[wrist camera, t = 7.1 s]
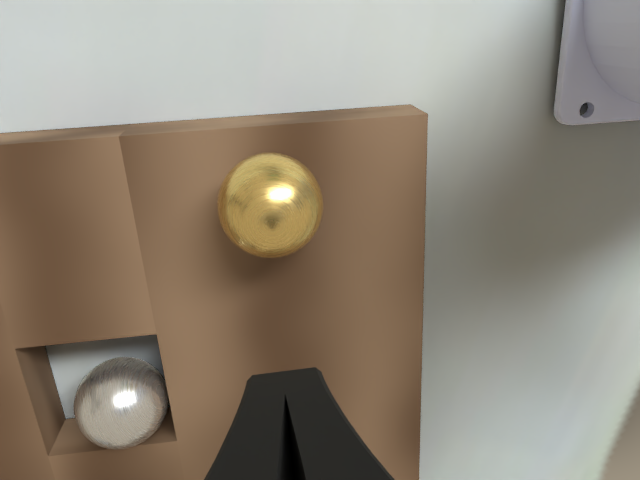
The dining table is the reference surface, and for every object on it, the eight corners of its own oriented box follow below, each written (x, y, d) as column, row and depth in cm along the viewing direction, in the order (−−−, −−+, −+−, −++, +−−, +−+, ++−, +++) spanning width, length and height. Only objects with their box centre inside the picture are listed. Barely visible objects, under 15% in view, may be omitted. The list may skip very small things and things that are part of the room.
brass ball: (314, 138, 17) (326, 163, 14) (319, 231, 18) (331, 270, 15) (214, 146, 16) (206, 172, 14) (226, 239, 17) (221, 280, 15)
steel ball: (102, 361, 22) (171, 341, 21) (121, 441, 22) (193, 423, 21) (43, 378, 19) (123, 355, 18) (65, 472, 18) (147, 451, 18)
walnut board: (410, 104, 19) (427, 113, 17) (405, 499, 25) (417, 537, 24) (-90, 139, 17) (-130, 154, 15) (48, 546, 24) (31, 590, 22)
